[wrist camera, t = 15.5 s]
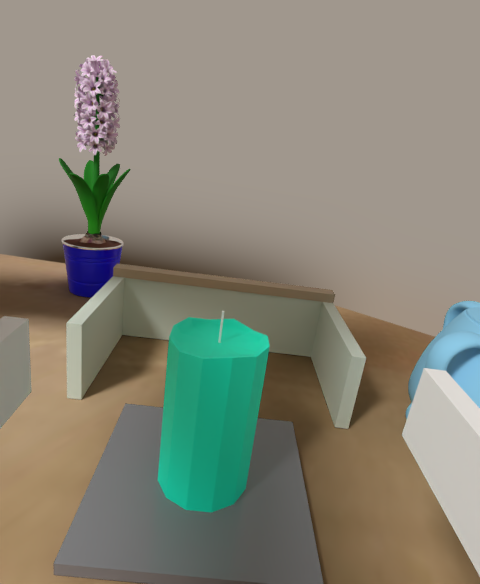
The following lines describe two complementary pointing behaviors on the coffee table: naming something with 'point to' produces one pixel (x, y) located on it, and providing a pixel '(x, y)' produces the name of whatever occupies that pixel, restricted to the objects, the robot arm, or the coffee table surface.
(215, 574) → the slate tile
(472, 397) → the decorative pot
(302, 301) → the white u-shaped frame
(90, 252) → the hyacinth
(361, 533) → the coffee table surface
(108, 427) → the coffee table surface
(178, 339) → the candle
